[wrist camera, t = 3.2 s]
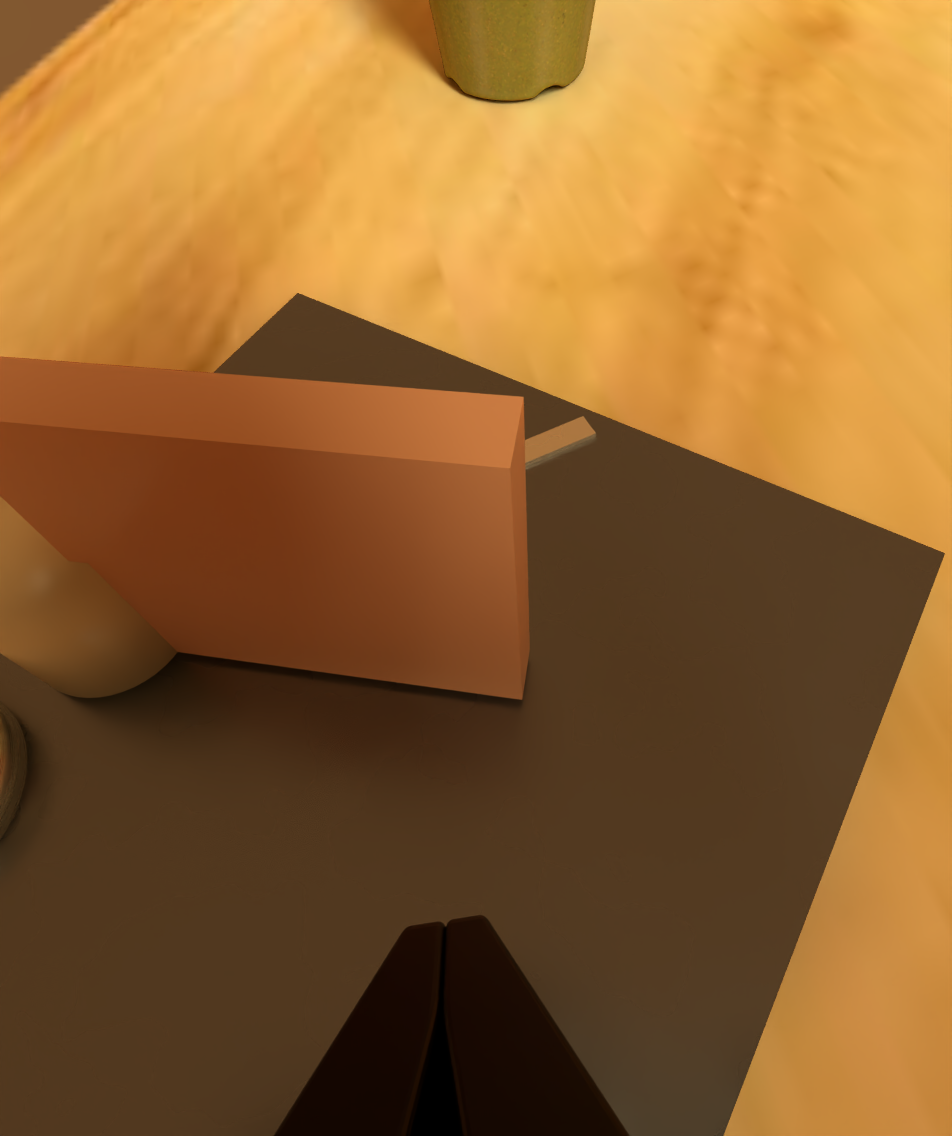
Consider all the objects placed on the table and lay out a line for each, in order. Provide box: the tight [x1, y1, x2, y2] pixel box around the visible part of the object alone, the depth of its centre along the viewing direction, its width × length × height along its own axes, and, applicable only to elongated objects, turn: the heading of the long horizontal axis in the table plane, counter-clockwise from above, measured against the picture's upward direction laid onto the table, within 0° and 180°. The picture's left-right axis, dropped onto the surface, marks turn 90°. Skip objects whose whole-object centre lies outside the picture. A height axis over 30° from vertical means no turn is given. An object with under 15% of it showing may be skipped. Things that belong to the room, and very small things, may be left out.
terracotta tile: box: [0, 357, 530, 700], centre depth 14 cm, size 12×4×8 cm, turn 80°
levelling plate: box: [0, 293, 945, 1136], centre depth 17 cm, size 20×20×2 cm
